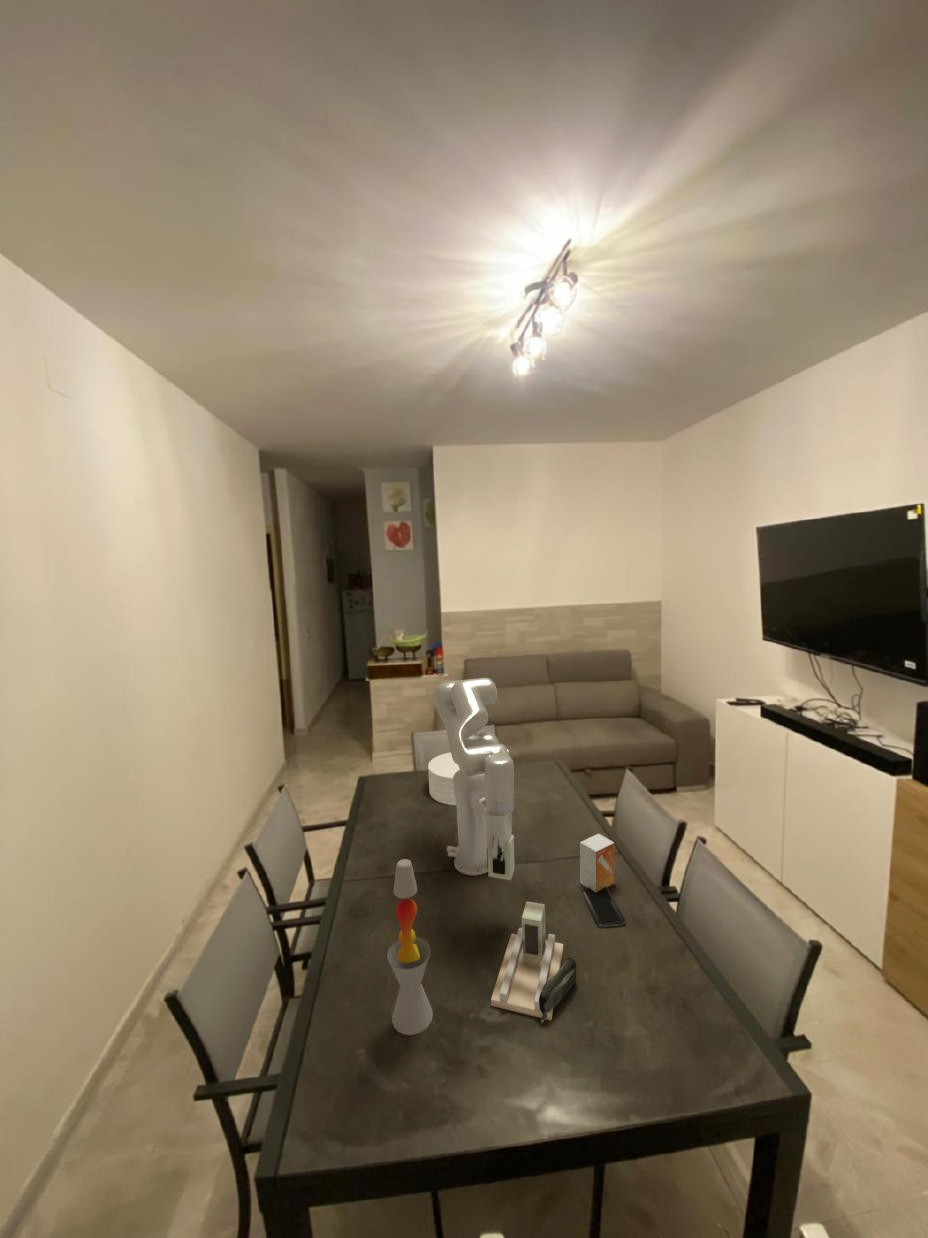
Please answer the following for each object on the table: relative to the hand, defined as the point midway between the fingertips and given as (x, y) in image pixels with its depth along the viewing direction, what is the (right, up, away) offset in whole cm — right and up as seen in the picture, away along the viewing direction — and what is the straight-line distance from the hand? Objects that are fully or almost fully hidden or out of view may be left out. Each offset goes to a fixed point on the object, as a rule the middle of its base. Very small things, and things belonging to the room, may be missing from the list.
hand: (501, 866), depth 133 cm
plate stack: (-10, -7, +79) cm, 80 cm away
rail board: (+5, -17, -17) cm, 25 cm away
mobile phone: (+10, -18, -23) cm, 31 cm away
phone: (+28, -14, +5) cm, 32 cm away
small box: (+29, -13, +15) cm, 35 cm away
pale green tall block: (0, -2, 0) cm, 2 cm away
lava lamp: (-21, -19, -26) cm, 39 cm away
